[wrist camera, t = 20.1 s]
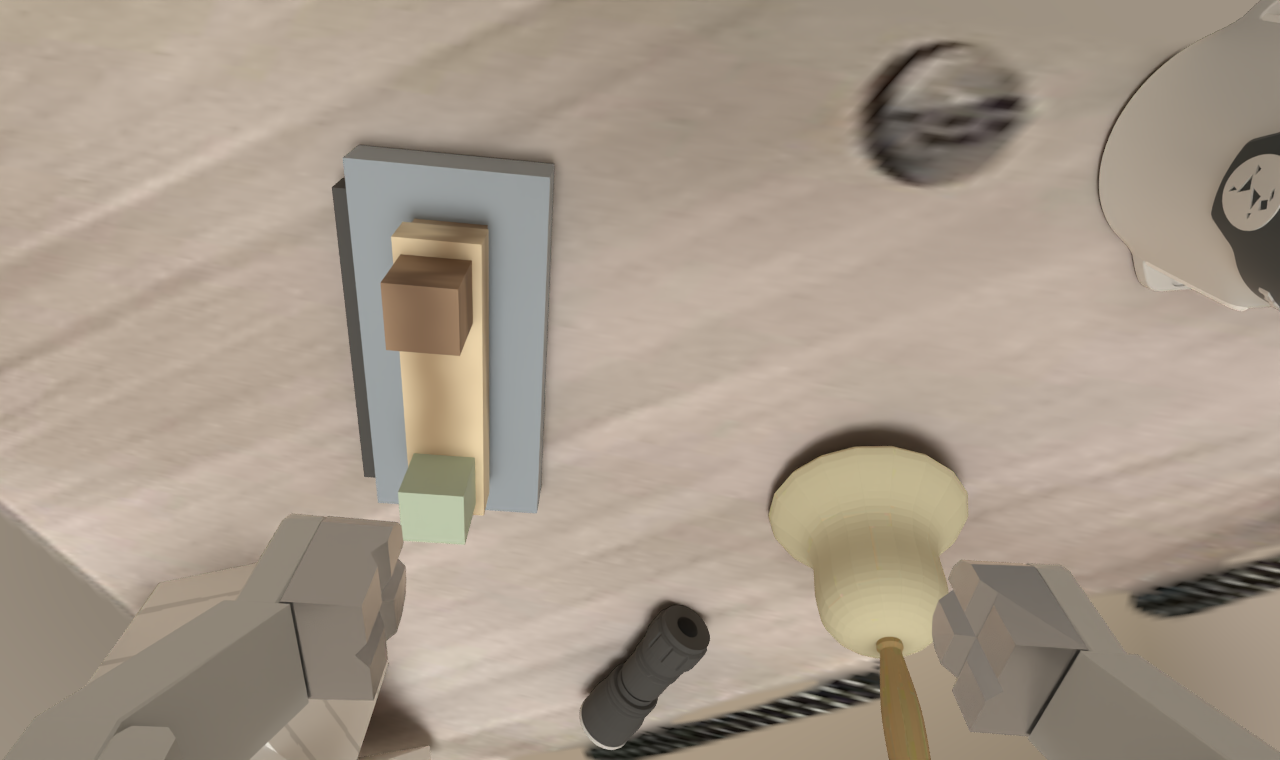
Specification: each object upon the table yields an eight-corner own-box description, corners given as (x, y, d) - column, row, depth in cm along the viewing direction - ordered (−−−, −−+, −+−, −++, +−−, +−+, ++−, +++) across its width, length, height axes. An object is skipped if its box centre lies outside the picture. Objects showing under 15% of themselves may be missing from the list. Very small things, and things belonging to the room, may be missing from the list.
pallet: (492, 221, 46) (481, 244, 42) (492, 479, 56) (483, 515, 52) (409, 213, 45) (391, 236, 42) (424, 474, 55) (411, 510, 52)
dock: (554, 163, 47) (550, 177, 44) (540, 488, 60) (537, 513, 57) (342, 143, 46) (325, 155, 43) (376, 476, 59) (364, 501, 57)
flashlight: (661, 591, 67) (664, 640, 62) (712, 611, 68) (719, 661, 63) (580, 689, 73) (577, 740, 69) (628, 705, 75) (628, 757, 70)
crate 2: (474, 457, 50) (463, 496, 46) (475, 503, 52) (464, 544, 48) (414, 453, 49) (398, 492, 46) (417, 499, 52) (401, 540, 48)
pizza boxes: (291, 768, 79) (210, 972, 64) (125, 569, 64) (-35, 772, 49) (462, 740, 77) (420, 944, 62) (332, 526, 62) (233, 725, 46)
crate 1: (471, 260, 43) (458, 289, 39) (472, 323, 45) (459, 356, 41) (400, 254, 42) (380, 282, 39) (404, 317, 44) (386, 350, 41)
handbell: (1005, 489, 59) (1136, 842, 40) (866, 577, 68) (919, 901, 49) (859, 399, 54) (929, 749, 35) (730, 505, 63) (730, 831, 44)
